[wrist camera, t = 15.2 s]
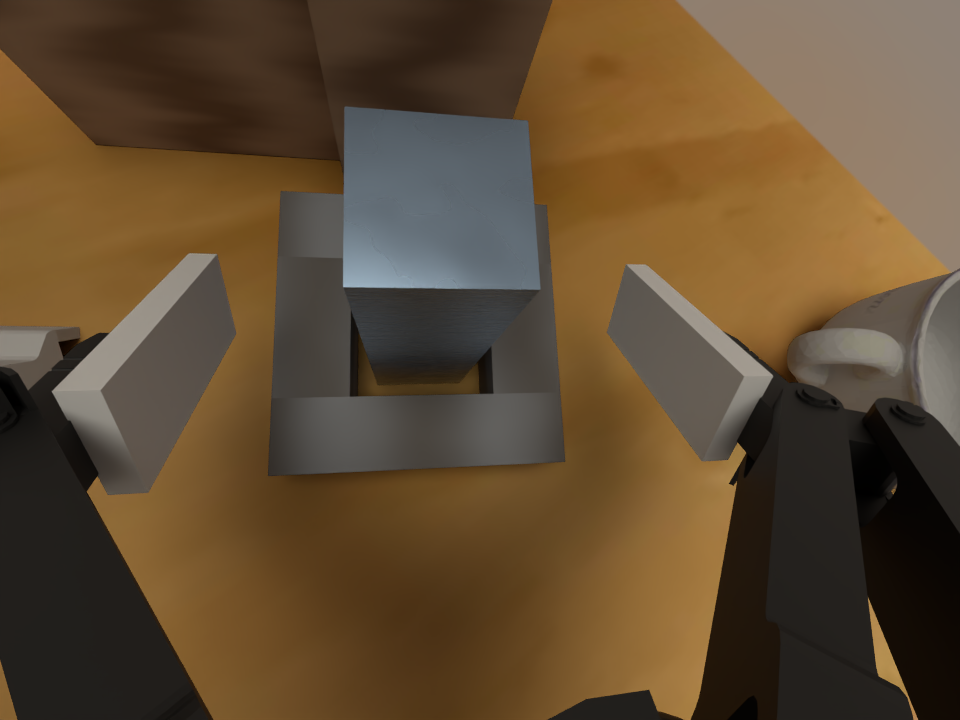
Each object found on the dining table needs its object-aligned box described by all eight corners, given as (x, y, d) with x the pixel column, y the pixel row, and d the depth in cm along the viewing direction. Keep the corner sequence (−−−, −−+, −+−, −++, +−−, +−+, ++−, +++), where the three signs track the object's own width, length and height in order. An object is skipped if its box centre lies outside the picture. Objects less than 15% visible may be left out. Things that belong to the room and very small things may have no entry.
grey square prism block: (377, 384, 22) (342, 287, 9) (377, 306, 23) (344, 106, 10) (458, 383, 23) (540, 289, 10) (455, 307, 24) (527, 120, 10)
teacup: (938, 353, 29) (1137, 318, 21) (914, 524, 26) (1132, 556, 18) (744, 262, 28) (879, 189, 20) (699, 432, 25) (834, 424, 17)
